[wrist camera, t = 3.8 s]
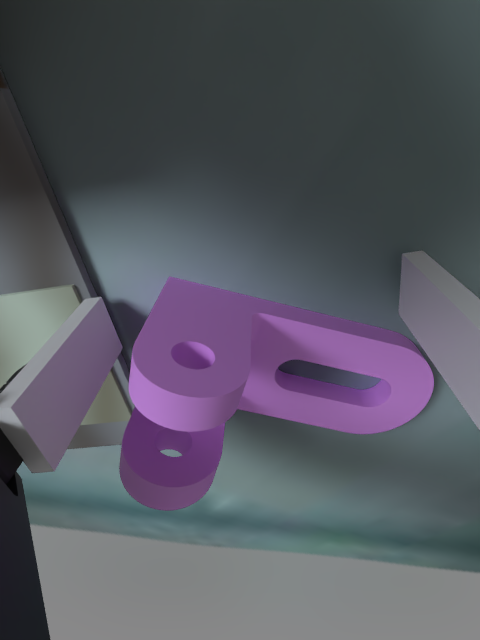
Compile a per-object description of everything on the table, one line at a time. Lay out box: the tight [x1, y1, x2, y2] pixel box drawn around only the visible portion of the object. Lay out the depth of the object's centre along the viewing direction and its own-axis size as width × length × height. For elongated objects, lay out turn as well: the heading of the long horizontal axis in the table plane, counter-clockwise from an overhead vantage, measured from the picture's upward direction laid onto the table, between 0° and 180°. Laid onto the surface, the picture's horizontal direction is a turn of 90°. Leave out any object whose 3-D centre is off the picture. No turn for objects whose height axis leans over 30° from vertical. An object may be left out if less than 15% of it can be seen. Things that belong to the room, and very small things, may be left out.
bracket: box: [119, 277, 434, 510], centre depth 14 cm, size 13×6×7 cm, turn 76°
